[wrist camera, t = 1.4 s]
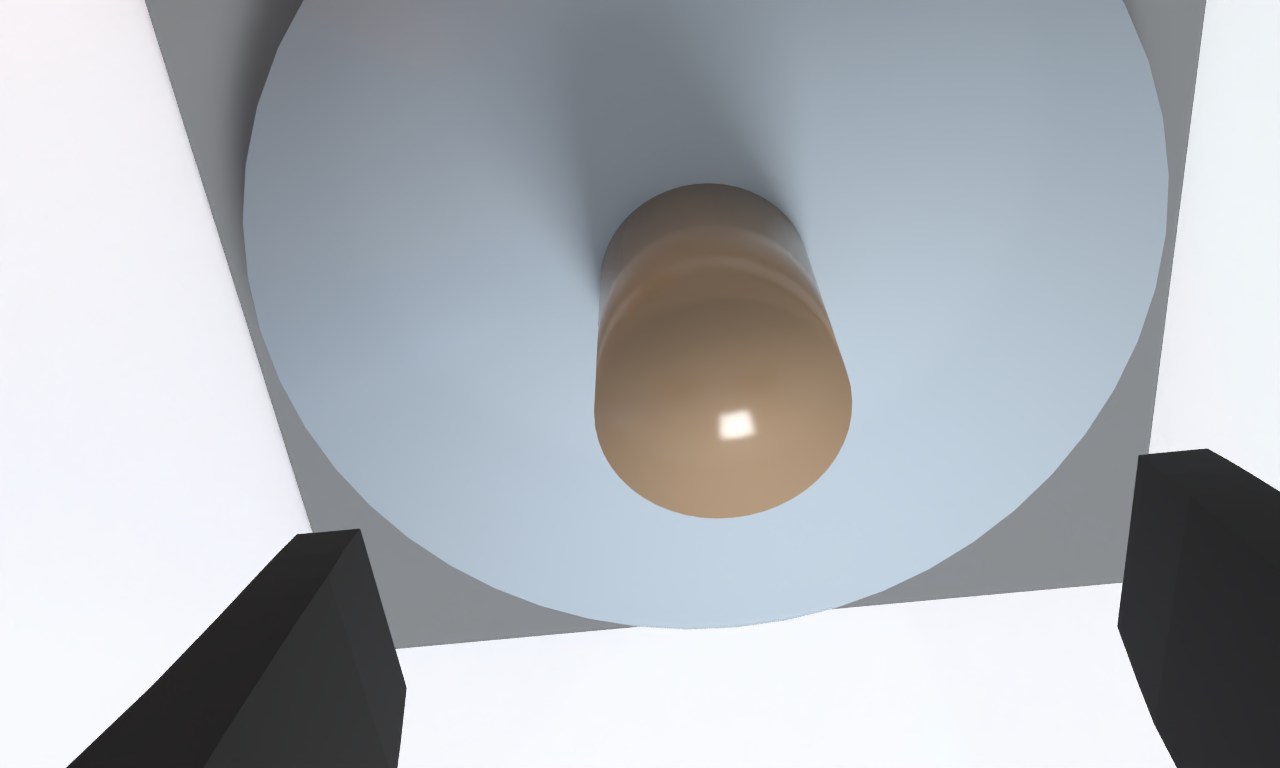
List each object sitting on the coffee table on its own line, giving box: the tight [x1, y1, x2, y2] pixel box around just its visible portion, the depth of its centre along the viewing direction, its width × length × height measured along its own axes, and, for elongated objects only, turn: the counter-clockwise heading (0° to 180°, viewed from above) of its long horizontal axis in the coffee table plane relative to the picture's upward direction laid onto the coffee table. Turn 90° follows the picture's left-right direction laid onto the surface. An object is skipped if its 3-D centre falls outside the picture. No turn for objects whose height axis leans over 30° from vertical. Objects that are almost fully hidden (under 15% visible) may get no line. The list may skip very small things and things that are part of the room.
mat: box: [145, 0, 1206, 649], centre depth 18 cm, size 14×14×1 cm
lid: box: [243, 0, 1169, 629], centre depth 15 cm, size 13×13×4 cm
